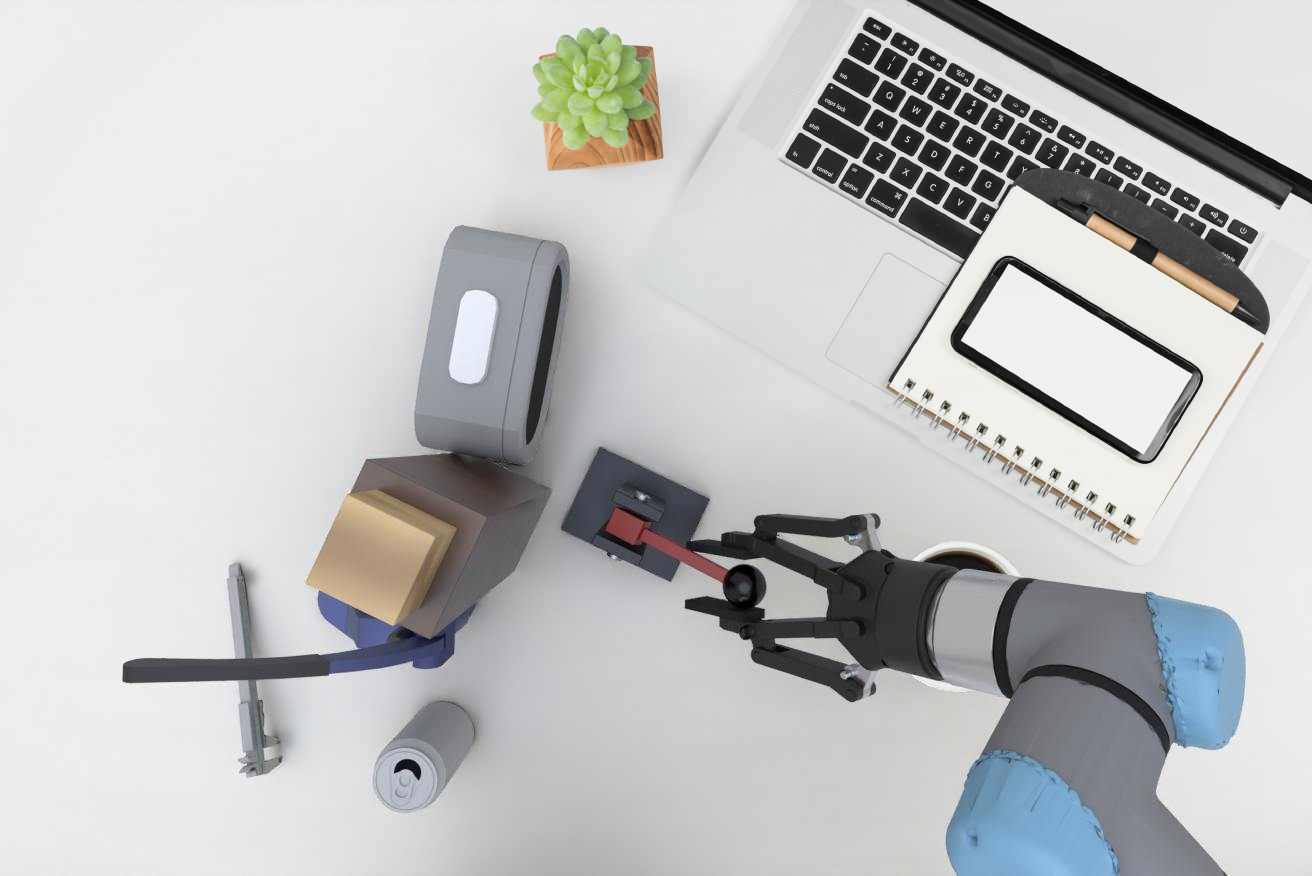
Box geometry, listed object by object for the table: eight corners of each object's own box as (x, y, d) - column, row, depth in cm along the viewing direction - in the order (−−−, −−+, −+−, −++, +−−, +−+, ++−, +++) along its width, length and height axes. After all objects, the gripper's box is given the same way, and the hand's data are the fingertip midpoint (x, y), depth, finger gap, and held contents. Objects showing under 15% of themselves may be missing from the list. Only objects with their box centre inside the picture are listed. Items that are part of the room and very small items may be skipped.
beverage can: (483, 709, 83) (450, 755, 71) (466, 770, 83) (430, 827, 71) (422, 691, 83) (379, 734, 71) (405, 753, 83) (359, 806, 71)
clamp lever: (776, 575, 69) (771, 577, 65) (758, 614, 69) (751, 618, 65) (629, 500, 72) (617, 499, 69) (611, 537, 72) (598, 538, 69)
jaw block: (419, 609, 55) (393, 626, 50) (338, 570, 55) (304, 583, 50) (457, 527, 55) (435, 536, 50) (376, 488, 55) (346, 493, 50)
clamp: (491, 557, 83) (396, 619, 55) (489, 645, 83) (392, 751, 55) (305, 551, 83) (117, 608, 55) (303, 637, 83) (113, 739, 55)
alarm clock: (540, 464, 83) (512, 469, 69) (447, 446, 83) (402, 448, 69) (576, 261, 82) (556, 226, 69) (483, 244, 83) (445, 207, 69)
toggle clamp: (709, 498, 82) (715, 510, 68) (670, 580, 82) (669, 608, 68) (600, 446, 82) (585, 448, 69) (562, 528, 83) (538, 546, 69)
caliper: (285, 760, 83) (253, 786, 77) (274, 762, 83) (242, 788, 77) (241, 562, 83) (205, 572, 77) (230, 564, 83) (194, 575, 77)
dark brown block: (514, 571, 83) (430, 639, 55) (433, 532, 83) (308, 581, 55) (552, 490, 83) (488, 517, 55) (471, 451, 83) (366, 458, 55)
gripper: (976, 742, 57) (723, 666, 74) (984, 490, 56) (728, 472, 74) (920, 771, 52) (662, 682, 69) (928, 494, 51) (667, 473, 68)
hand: (697, 573), depth 71 cm, fingers closed on clamp lever, 4 cm apart
